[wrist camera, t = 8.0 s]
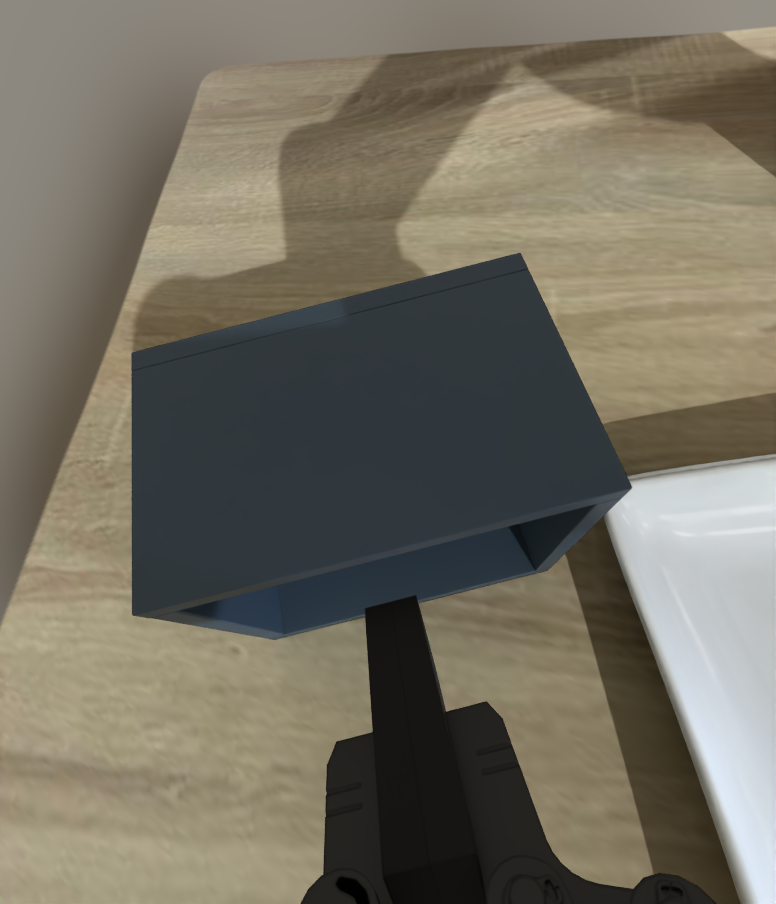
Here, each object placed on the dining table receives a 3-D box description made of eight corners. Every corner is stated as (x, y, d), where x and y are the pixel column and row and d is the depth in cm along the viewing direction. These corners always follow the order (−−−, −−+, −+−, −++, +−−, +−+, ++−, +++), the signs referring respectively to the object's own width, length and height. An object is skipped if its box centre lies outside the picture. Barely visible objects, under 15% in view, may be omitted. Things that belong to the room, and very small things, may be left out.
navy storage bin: (550, 569, 24) (637, 486, 13) (271, 640, 24) (126, 616, 13) (493, 415, 28) (523, 251, 17) (252, 476, 28) (127, 352, 17)
